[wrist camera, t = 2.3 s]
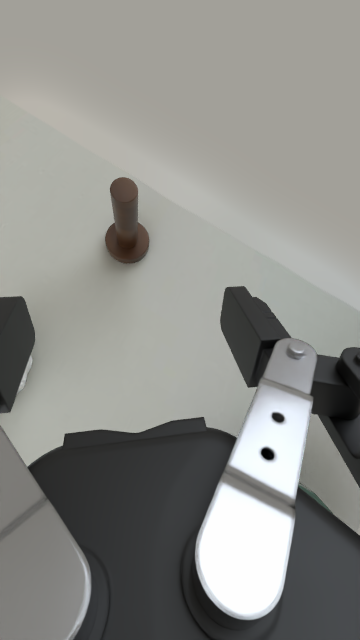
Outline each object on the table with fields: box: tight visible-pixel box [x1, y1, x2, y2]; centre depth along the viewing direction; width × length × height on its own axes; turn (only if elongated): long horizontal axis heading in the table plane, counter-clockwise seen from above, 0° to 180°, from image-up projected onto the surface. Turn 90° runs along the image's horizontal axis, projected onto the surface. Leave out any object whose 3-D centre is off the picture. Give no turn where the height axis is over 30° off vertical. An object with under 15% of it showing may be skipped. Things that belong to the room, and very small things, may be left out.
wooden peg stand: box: [105, 177, 149, 263], centre depth 28 cm, size 5×5×10 cm
